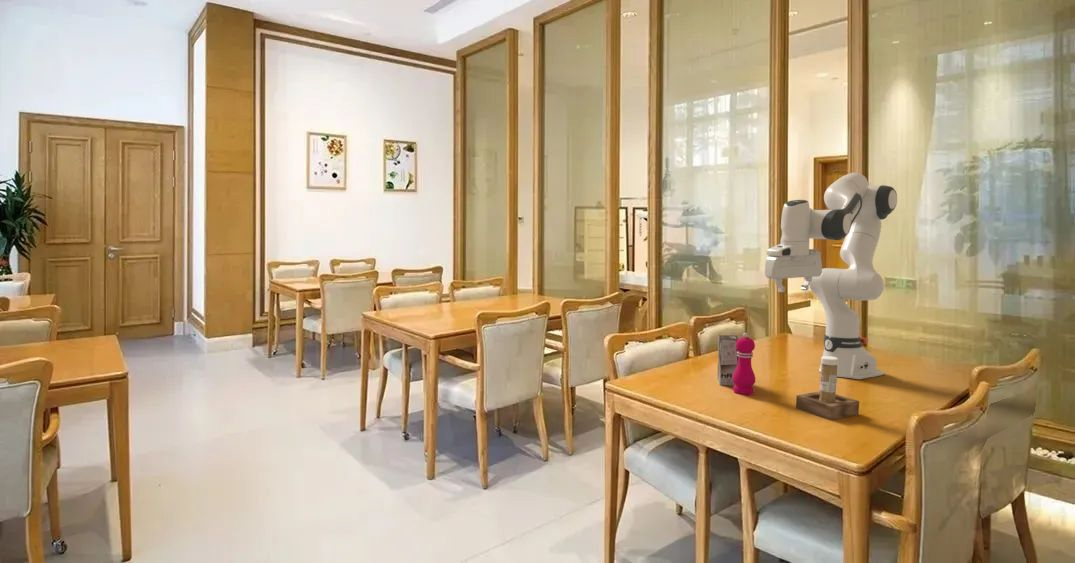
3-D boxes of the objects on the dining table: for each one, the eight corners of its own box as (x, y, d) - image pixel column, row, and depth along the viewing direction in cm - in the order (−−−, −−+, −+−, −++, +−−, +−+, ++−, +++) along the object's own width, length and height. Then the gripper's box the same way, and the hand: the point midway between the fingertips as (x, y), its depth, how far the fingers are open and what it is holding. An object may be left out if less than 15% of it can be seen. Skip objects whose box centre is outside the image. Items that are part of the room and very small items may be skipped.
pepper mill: (728, 389, 202) (730, 330, 200) (749, 388, 203) (751, 330, 201) (737, 395, 195) (739, 334, 193) (758, 395, 196) (761, 334, 194)
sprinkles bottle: (815, 399, 181) (817, 355, 179) (829, 398, 182) (831, 355, 180) (825, 404, 176) (827, 359, 175) (839, 403, 177) (841, 358, 176)
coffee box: (738, 386, 206) (740, 340, 204) (719, 385, 207) (721, 339, 205) (735, 379, 215) (737, 335, 213) (716, 378, 216) (718, 334, 214)
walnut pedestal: (823, 403, 187) (823, 390, 187) (858, 414, 177) (859, 401, 176) (795, 408, 182) (796, 395, 182) (830, 420, 171) (831, 406, 171)
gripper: (813, 247, 204) (811, 288, 206) (762, 250, 198) (761, 291, 200) (827, 249, 198) (825, 290, 200) (775, 251, 192) (773, 294, 194)
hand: (793, 291), depth 200 cm, fingers open, 8 cm apart
